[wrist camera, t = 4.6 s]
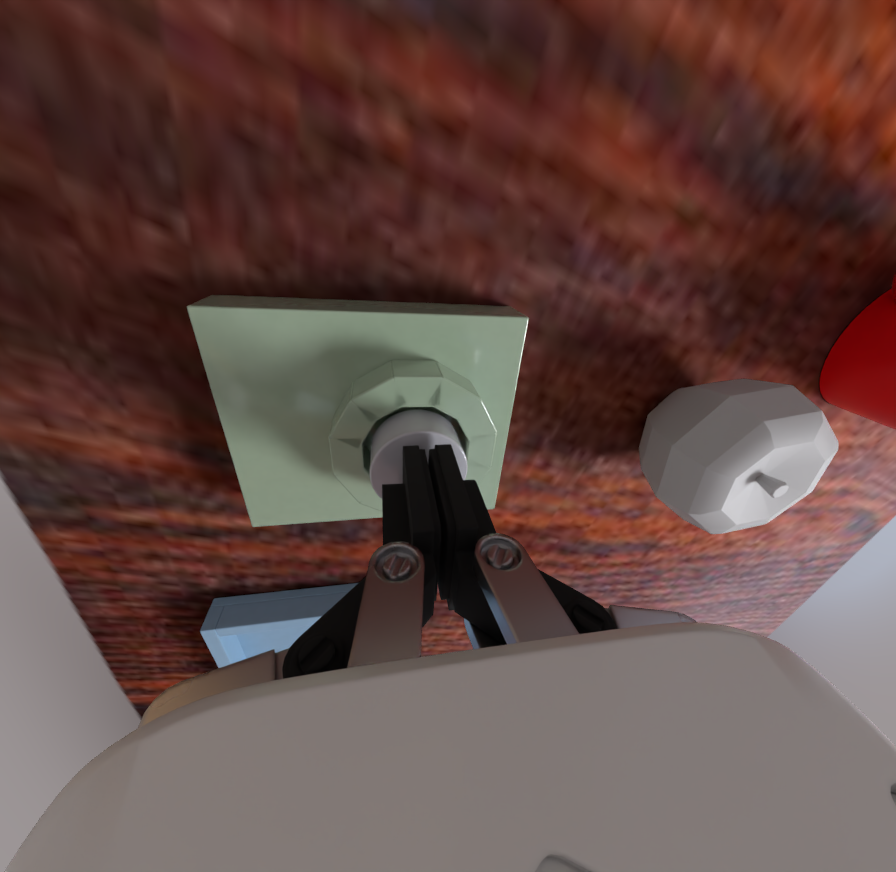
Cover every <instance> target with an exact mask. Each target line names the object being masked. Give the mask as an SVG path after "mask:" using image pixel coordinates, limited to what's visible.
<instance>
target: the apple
mask: <svg viewBox="0 0 896 872" xmlns="http://www.w3.org/2000/svg"><path fill="white" fill-rule="evenodd" d="M837 450H838V440H837V438H836V436H835V435H834V433H833V431H832V429H831V427H830V425H829V423H828V421H827V419H826V417H825V415H824V414H823V412H822V410H821V409H819V408H818V407H817V406H816V405H815V404H814V403H812V402H811V401H810V400H809V399H808V398H807V397H806V396H804V395H803V394H802V393H801V392H800V391H799V390H797V389H796V388H795V387H794V386H793V385H787V384H780V383H773V382H765V381H758V380H751V379H737V380H729V381H721V382H713V383H707V384H702V385H697V386H691V387H686V388H681V389H677V390H675V391H674V392H672V393H671V394H670V395H669V396H667V397H666V398H665V399H664V400H663V401H662V402H661V403H660V404H659V405H658V406H657V407H656V408H654V409H653V410H652V411H651V412H650V413H649V414H648V416H647V420H646V423H645V427H644V431H643V434H642V438H641V442H640V445H639V455H640V464H641V469H642V471H643V473H644V475H645V477H646V479H647V481H648V482H649V484H650V486H651V488H652V490H653V492H654V494H655V495H656V497H657V498H658V499H660V500H661V501H662V502H663V503H664V504H666V505H667V506H668V507H669V508H670V509H671V510H673V511H674V512H675V513H676V514H677V515H679V516H680V517H681V518H682V519H683V520H685V521H687V522H689V523H691V524H693V525H695V526H697V527H699V528H701V529H703V530H705V531H707V532H708V533H710V534H722V533H727V532H731V531H736V530H741V529H745V528H750V527H755V526H759V525H764V524H766V523H768V522H769V521H771V520H772V519H774V518H775V517H776V516H778V515H779V514H781V513H782V512H784V511H785V510H786V509H788V508H789V507H791V506H792V505H794V504H795V503H797V502H798V501H799V500H801V499H802V498H804V497H805V496H807V495H808V494H809V493H811V492H812V491H813V489H814V488H815V486H816V484H817V483H818V481H819V480H820V478H821V476H822V475H823V473H824V471H825V470H826V468H827V467H828V465H829V463H830V462H831V460H832V459H833V457H834V455H835V454H836V452H837Z"/></svg>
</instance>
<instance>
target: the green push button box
mask: <svg viewBox="0 0 896 872" xmlns="http://www.w3.org/2000/svg"><path fill="white" fill-rule="evenodd" d="M187 311H188V314H189V317H190V321H191V324H192V327H193V331H194V334H195V337H196V341H197V344H198V347H199V351H200V354H201V357H202V361H203V364H204V367H205V371H206V374H207V377H208V381H209V384H210V387H211V391H212V394H213V397H214V401H215V404H216V407H217V411H218V414H219V417H220V421H221V424H222V427H223V431H224V434H225V437H226V441H227V444H228V447H229V451H230V454H231V457H232V461H233V464H234V467H235V471H236V474H237V477H238V481H239V484H240V487H241V491H242V494H243V498H244V501H245V504H246V508H247V511H248V514H249V518H250V521H251V524H252V527H258V526H272V525H285V524H299V523H312V522H326V521H339V520H352V519H366V518H379V517H383V513H382V499H381V498H380V497H379V496H378V495H377V494H376V492H375V491H374V489H373V487H372V485H371V482H370V476H369V474H370V444H371V440H372V437H373V435H374V433H375V431H376V430H377V428H378V427H379V426H380V425H381V424H382V423H383V422H384V421H385V420H387V419H388V418H390V417H391V416H393V415H395V414H397V413H400V412H403V411H407V410H415V409H419V410H428V411H431V412H435V413H437V414H439V415H441V416H443V417H444V418H446V419H447V420H448V421H449V422H450V423H451V424H452V425H453V427H454V428H455V430H456V432H457V434H458V437H459V440H460V442H461V445H462V447H463V450H464V452H465V455H466V458H467V463H468V470H467V475H466V478H465V480H475V481H476V482H477V484H478V487H479V490H480V492H481V495H482V497H483V500H484V503H485V505H486V508H487V509H494V508H495V502H496V497H497V491H498V486H499V480H500V475H501V469H502V464H503V458H504V453H505V447H506V441H507V436H508V430H509V425H510V419H511V414H512V408H513V403H514V397H515V392H516V386H517V380H518V375H519V369H520V364H521V358H522V353H523V347H524V342H525V336H526V331H527V325H528V319H529V318H528V317H527V316H525V315H524V314H522V313H520V312H519V311H517V310H515V309H514V308H512V307H510V306H488V305H462V304H436V303H411V302H385V301H359V300H334V299H308V298H282V297H256V296H231V295H211V296H209V297H207V298H204V299H202V300H200V301H198V302H195V303H193V304H191V305H188V306H187Z"/></svg>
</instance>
